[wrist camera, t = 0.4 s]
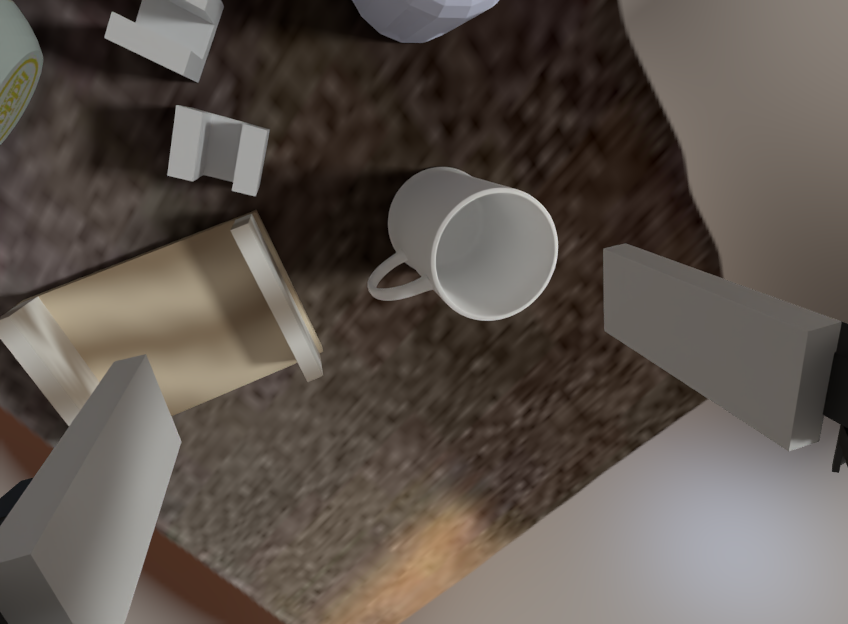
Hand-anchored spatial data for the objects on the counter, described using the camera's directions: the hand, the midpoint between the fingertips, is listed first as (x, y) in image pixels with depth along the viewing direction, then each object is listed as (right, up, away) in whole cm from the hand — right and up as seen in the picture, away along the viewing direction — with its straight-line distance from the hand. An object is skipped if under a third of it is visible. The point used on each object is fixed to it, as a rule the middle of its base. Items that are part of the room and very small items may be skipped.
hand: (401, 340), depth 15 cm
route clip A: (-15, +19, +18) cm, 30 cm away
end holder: (-17, 0, +24) cm, 30 cm away
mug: (0, +7, +26) cm, 27 cm away
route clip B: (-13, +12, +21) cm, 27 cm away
